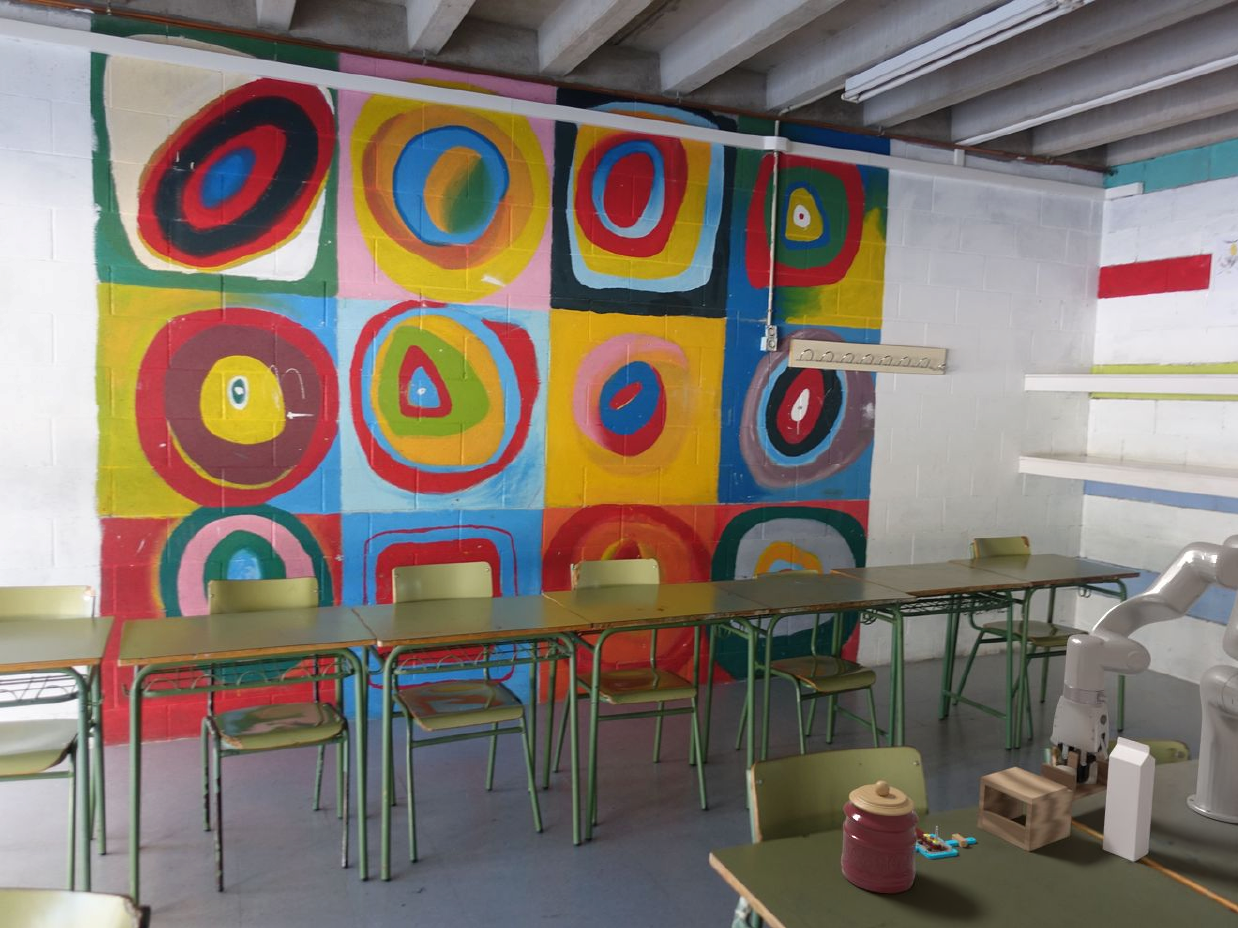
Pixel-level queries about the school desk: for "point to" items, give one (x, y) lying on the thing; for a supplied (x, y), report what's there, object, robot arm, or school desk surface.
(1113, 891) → the school desk surface
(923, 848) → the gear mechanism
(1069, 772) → the caddy
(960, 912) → the school desk surface
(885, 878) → the canister
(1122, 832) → the milk
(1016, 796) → the shelf
